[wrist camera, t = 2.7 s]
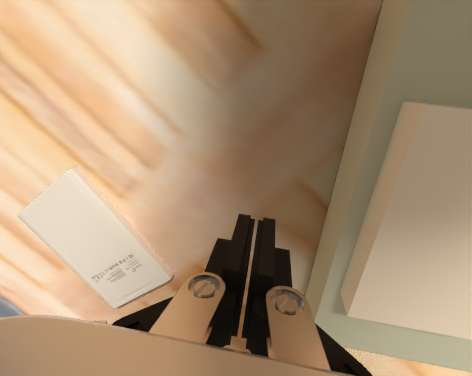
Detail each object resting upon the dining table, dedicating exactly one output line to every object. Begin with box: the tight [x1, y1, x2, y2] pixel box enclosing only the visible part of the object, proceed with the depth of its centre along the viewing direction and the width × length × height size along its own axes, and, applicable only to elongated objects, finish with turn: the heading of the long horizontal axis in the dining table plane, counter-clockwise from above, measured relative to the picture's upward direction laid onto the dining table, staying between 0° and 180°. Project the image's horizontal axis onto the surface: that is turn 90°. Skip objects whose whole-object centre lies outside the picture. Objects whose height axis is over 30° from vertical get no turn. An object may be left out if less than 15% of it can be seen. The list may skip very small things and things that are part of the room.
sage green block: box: [305, 0, 472, 373], centre depth 16 cm, size 22×14×4 cm, turn 175°
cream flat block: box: [340, 101, 472, 340], centre depth 14 cm, size 12×8×2 cm, turn 175°
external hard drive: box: [17, 165, 174, 309], centre depth 24 cm, size 2×8×12 cm
